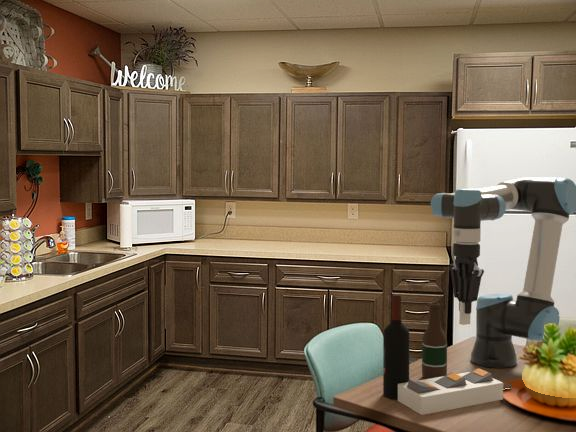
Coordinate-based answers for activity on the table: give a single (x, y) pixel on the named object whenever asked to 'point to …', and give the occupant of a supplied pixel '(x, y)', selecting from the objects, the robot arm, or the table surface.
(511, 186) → the robot arm
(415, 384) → the rocker
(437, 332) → the beer bottle
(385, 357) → the wine bottle
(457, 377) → the rocker
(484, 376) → the rocker
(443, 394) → the power strip
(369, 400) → the table surface
